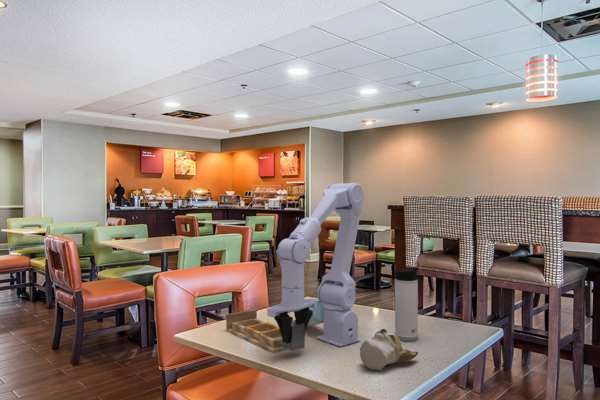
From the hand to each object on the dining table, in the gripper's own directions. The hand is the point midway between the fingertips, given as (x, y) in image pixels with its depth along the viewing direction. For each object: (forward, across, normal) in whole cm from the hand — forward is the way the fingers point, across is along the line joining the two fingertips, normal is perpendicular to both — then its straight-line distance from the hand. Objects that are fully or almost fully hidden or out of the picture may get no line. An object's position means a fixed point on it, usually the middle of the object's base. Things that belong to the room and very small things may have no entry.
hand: (293, 340), depth 109 cm
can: (+1, -18, -18) cm, 26 cm away
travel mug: (+4, -33, +10) cm, 35 cm away
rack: (+4, -2, -16) cm, 17 cm away
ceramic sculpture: (+4, -13, +18) cm, 23 cm away
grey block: (+2, 0, 0) cm, 2 cm away
